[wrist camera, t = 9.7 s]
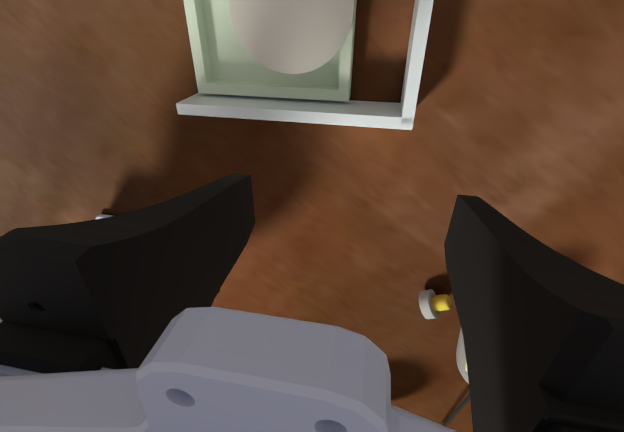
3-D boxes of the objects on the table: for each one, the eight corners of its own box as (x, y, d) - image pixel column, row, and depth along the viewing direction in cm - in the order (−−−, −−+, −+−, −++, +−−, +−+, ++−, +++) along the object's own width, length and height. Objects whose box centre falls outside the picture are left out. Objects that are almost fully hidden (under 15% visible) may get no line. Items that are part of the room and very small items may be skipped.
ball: (225, 70, 18) (259, 90, 14) (206, -64, 15) (241, -92, 11) (319, 61, 20) (374, 76, 16) (318, -59, 17) (385, -81, 13)
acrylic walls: (202, 101, 22) (177, 114, 20) (173, -79, 17) (137, -93, 15) (409, 113, 20) (412, 129, 18) (441, -87, 15) (451, -104, 13)
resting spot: (207, 88, 22) (198, 93, 21) (179, -104, 17) (165, -110, 16) (350, 96, 20) (348, 101, 19) (364, -111, 15) (362, -119, 14)
